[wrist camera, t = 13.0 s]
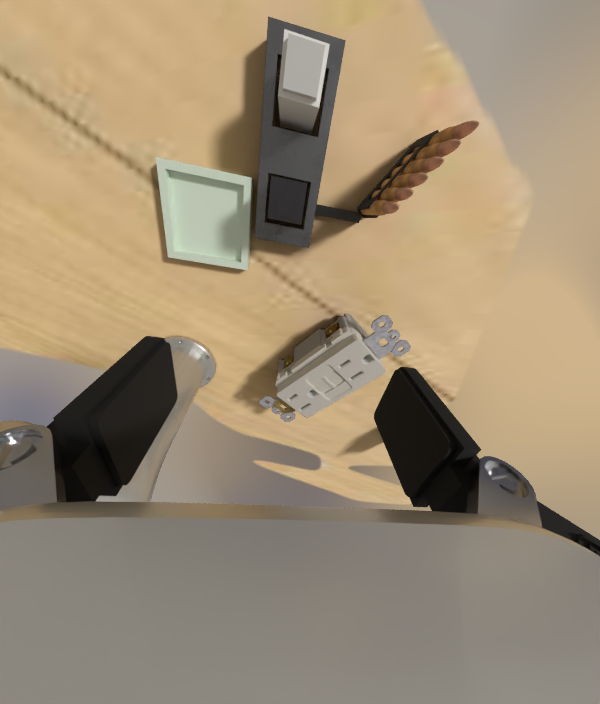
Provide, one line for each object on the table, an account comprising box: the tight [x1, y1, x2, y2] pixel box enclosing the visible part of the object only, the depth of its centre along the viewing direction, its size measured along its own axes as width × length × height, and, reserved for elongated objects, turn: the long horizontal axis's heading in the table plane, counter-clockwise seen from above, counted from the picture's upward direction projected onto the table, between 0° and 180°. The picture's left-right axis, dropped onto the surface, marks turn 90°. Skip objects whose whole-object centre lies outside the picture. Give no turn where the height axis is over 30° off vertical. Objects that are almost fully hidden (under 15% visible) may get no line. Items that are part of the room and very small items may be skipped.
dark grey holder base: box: [255, 17, 361, 248], centre depth 27 cm, size 20×15×9 cm
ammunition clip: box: [357, 121, 479, 218], centre depth 27 cm, size 11×2×12 cm, turn 137°
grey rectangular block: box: [278, 29, 330, 134], centre depth 24 cm, size 4×4×10 cm
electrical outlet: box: [260, 314, 411, 422], centre depth 44 cm, size 12×28×10 cm, turn 132°
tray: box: [156, 157, 254, 270], centre depth 33 cm, size 12×12×2 cm
